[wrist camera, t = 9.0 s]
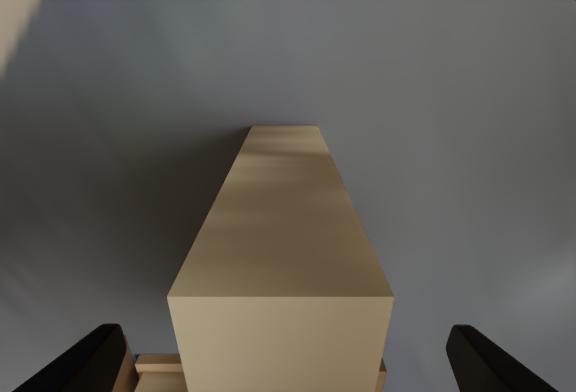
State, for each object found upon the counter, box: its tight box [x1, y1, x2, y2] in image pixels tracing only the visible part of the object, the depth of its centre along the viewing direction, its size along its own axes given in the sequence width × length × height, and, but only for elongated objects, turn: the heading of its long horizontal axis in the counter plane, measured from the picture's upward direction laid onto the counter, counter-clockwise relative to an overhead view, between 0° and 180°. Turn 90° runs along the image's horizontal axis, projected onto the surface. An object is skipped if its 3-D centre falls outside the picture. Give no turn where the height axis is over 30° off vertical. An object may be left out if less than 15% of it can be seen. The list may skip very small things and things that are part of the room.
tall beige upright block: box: [167, 125, 394, 392], centre depth 9 cm, size 2×9×9 cm, turn 0°
